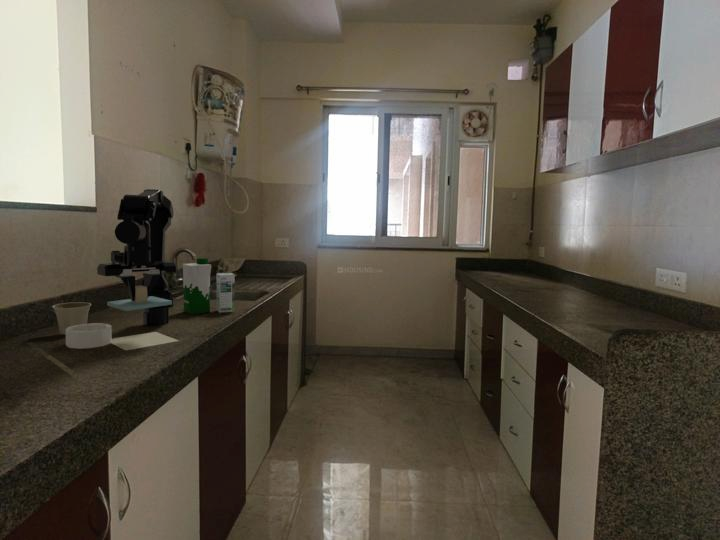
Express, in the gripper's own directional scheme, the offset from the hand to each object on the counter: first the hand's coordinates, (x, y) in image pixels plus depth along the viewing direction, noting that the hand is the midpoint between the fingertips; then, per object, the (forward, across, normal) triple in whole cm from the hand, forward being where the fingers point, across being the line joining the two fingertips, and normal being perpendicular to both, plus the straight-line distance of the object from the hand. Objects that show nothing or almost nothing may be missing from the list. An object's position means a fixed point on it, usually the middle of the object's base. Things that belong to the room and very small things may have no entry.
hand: (139, 300), depth 121 cm
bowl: (+12, +10, -6) cm, 17 cm away
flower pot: (+12, +9, -22) cm, 27 cm away
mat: (+12, 0, 0) cm, 12 cm away
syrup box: (+12, -43, -25) cm, 51 cm away
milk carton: (+12, -34, -30) cm, 46 cm away
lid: (+1, 0, 0) cm, 1 cm away
